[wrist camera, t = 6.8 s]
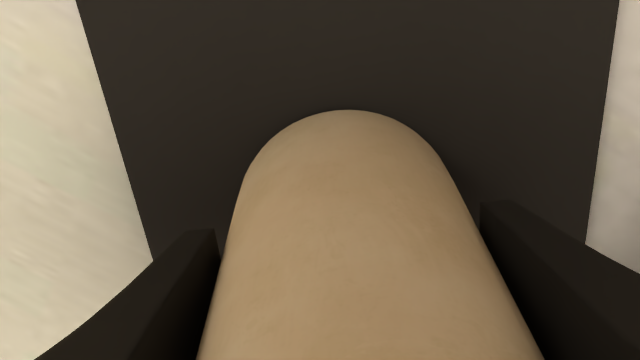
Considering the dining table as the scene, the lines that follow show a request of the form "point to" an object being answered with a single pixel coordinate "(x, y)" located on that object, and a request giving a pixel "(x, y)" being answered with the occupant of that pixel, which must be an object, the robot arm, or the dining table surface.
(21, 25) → the dining table surface
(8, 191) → the dining table surface
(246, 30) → the mat
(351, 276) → the candle
